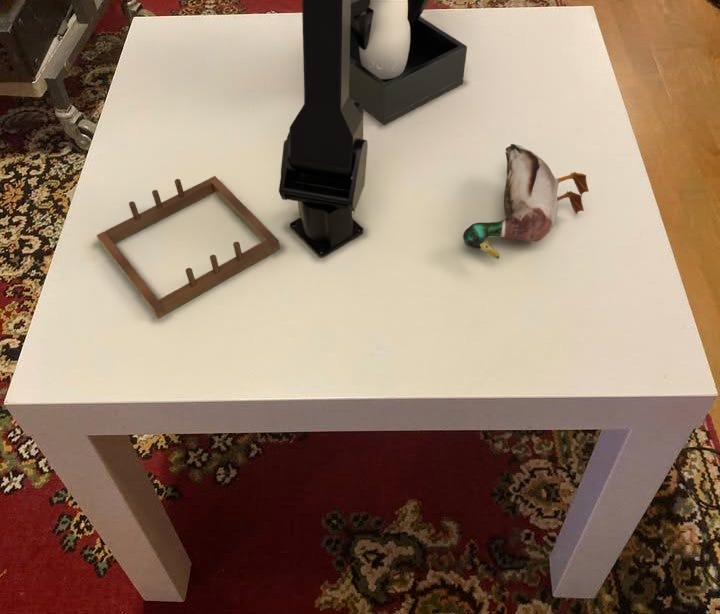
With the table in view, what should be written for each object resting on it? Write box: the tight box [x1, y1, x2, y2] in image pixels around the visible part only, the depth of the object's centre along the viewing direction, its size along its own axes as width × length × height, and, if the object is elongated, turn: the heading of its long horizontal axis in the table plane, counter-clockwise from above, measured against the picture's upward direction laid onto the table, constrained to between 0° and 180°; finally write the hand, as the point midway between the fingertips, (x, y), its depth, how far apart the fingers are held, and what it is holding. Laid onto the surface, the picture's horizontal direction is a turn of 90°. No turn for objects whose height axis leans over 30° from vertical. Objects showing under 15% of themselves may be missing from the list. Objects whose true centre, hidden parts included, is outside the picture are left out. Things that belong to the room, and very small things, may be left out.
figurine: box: [359, 0, 410, 79], centre depth 97 cm, size 7×8×12 cm
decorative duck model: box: [462, 143, 590, 260], centre depth 83 cm, size 15×8×15 cm
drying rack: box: [96, 175, 281, 319], centre depth 82 cm, size 14×16×4 cm
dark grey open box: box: [349, 16, 468, 126], centre depth 101 cm, size 17×15×6 cm
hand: (386, 37), depth 98 cm, fingers closed on figurine, 8 cm apart
